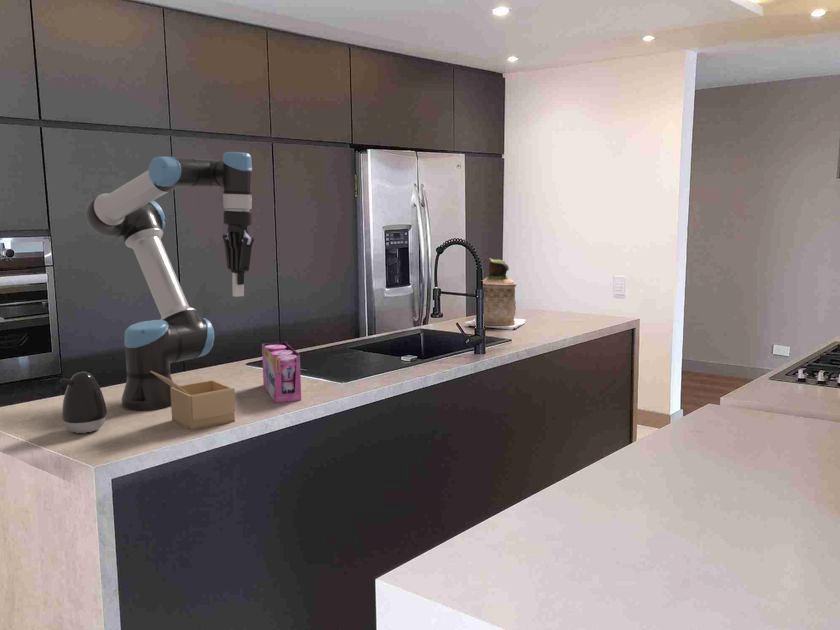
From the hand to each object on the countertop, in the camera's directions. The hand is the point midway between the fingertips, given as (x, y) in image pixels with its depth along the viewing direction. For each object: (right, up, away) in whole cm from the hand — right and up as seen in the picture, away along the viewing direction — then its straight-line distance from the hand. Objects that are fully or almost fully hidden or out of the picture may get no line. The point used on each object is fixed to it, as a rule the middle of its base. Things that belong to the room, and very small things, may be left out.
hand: (238, 295), depth 198 cm
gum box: (+8, -29, +20) cm, 36 cm away
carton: (-7, -33, -9) cm, 35 cm away
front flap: (-13, -22, -17) cm, 31 cm away
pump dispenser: (-34, -35, -17) cm, 52 cm away
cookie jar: (+87, -10, +143) cm, 168 cm away
